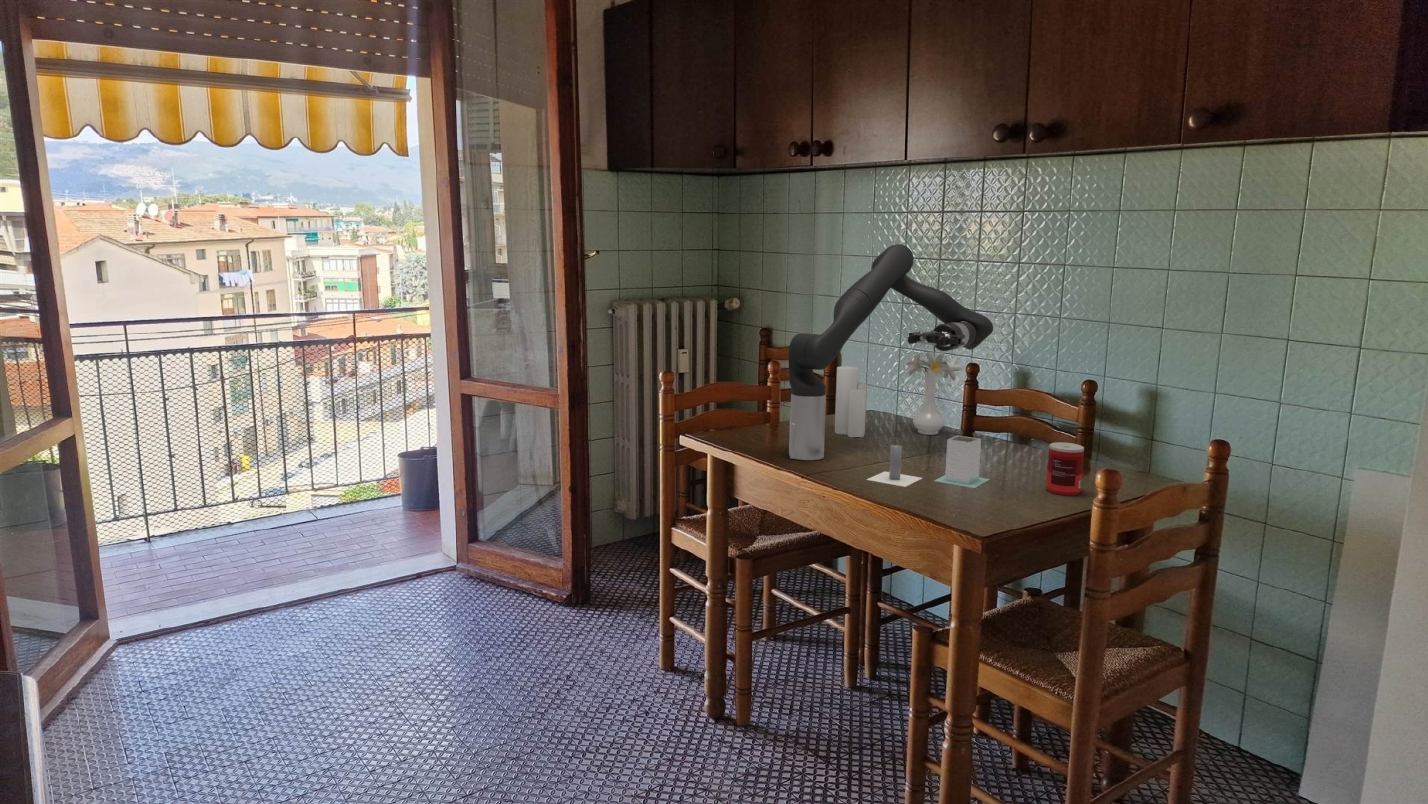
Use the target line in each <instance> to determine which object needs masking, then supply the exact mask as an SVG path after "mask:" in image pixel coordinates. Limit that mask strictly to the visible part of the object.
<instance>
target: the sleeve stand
mask: <svg viewBox="0 0 1428 804" xmlns="http://www.w3.org/2000/svg"><path fill="white" fill-rule="evenodd" d="M902 448H903V446H902V445H898V444H892V445H890V451H889V452H890V454H889V471H885V470H884V471H883V472H880V473H878V474H876V475H873V476H871V477H869V478H866V481H870V482H876V483H880V484H881V483H882V484H888V485H894V486H898V487H904V488H907V487H908V486H910V485H912V484H913V483H916V482H918V481H920V480H922V479H923V477H919V476H913V475H907V474H903V473H901V471H902V451H903V449H902Z"/></svg>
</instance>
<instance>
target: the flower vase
mask: <svg viewBox="0 0 1428 804" xmlns="http://www.w3.org/2000/svg"><path fill="white" fill-rule="evenodd" d="M920 355H921V354H920V353H919V352H918V351H915V353H914V356H913V360H908V361H907V362H906V368H907V369H909V370H908V371H907V372H906V375H909V376H913V374H915V373H916V372H918V373H921V372H922V370H923V369H924V371H923V375H924V380H925V386H924V387H925V389H924V390H925V391H924V400H923V404H922V407H921V409H920V410H919V412H918V413H917V414H916V415H914V417H913V419H912V424H913V426H914V428H916V429H917V434H918V433H919V434H921V435H926V436H932V435H938V434H939V431H940V430H941V429H943V427H944V425H945V420H944V417H943V416H942V415H941V414H940V413H939V411H938V408H937V405H936V387H937V386H936V383H937V379H938V378H939V379H941V380H942V379H943V378H944V379H945V378H947V377H948V376H949V378H950V379H951V380H952V381H956V379H957V377H956V373H955V372H959V371H961V370H962V368H963V366H962V365H961V364H956V363H957V359H958V358H957V356H953V357H952V359H950V362H949V361H946V360H943V358H944V356H945V355H944V353H942V352H940V353H937V355H936V356H934V354H933V353H932V352H931V351H926V356H922V357H921V358H920Z"/></svg>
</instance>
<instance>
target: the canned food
mask: <svg viewBox="0 0 1428 804" xmlns="http://www.w3.org/2000/svg"><path fill="white" fill-rule="evenodd" d="M1084 456H1085V447H1084V446H1082V445H1081V444H1078V443H1072V442H1064V441H1063V442H1060V441H1059V442H1058V441H1057V442H1052V443H1050V444H1049V445H1048V455H1047V466H1046V467H1047V468H1046V480H1045V481H1046V483H1045V488H1046V490H1047V491H1048V493H1051V494H1054V495H1058V496H1066V497H1068V496H1069V497H1071V496H1073V497H1074V496H1077V495H1079V494H1080V493H1081V487H1082V478H1083V468H1084V458H1085V457H1084Z"/></svg>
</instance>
